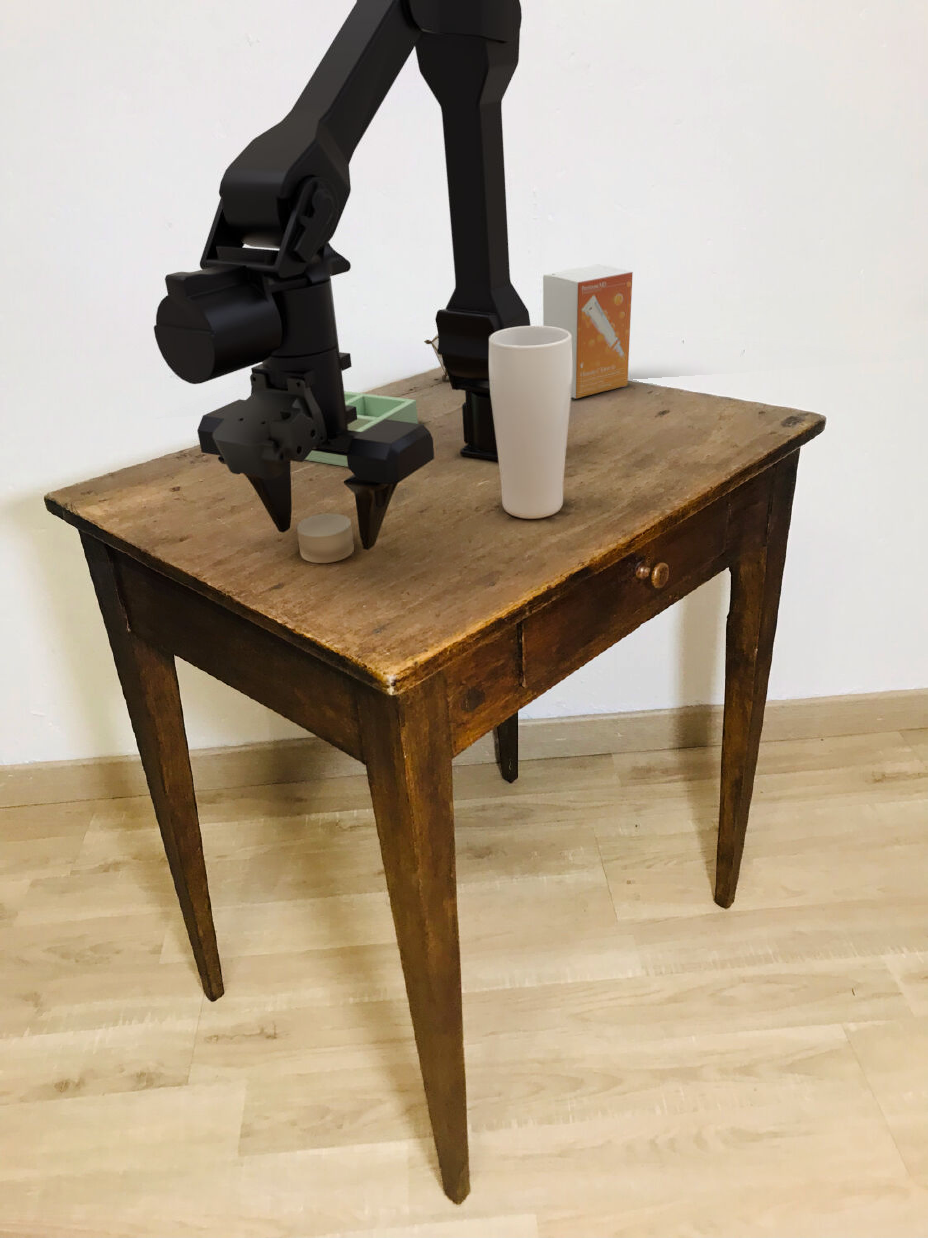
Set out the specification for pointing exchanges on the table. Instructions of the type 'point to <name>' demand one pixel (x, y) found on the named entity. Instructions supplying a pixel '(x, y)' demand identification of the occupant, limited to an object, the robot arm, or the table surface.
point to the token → (325, 538)
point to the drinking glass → (531, 415)
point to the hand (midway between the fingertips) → (326, 539)
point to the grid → (370, 418)
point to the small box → (592, 323)
